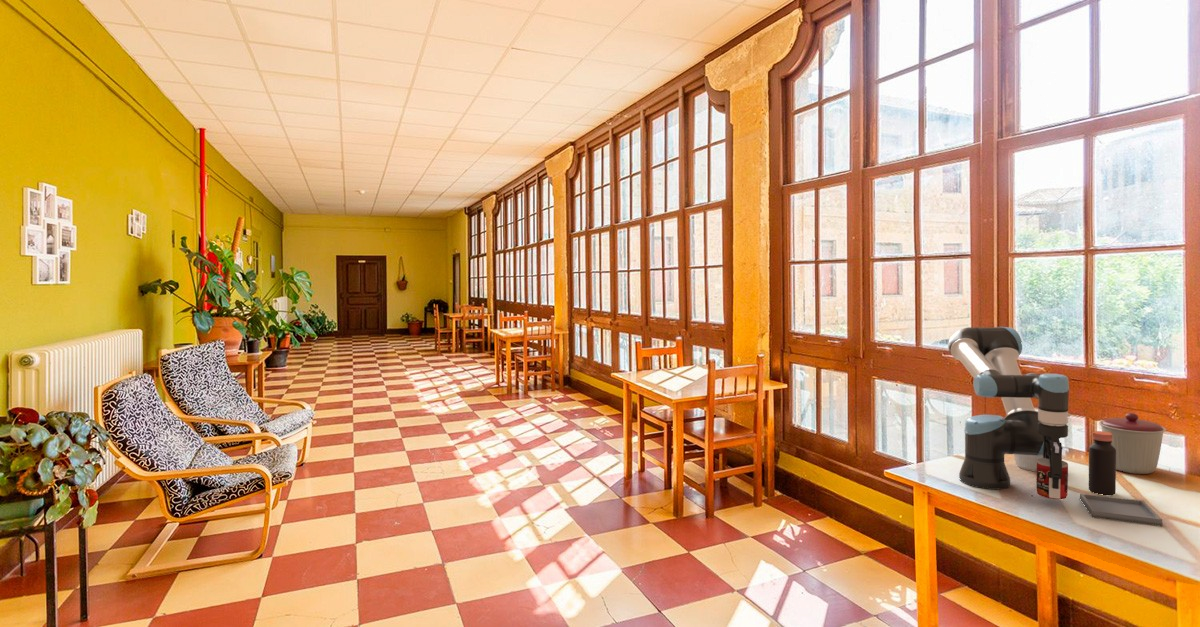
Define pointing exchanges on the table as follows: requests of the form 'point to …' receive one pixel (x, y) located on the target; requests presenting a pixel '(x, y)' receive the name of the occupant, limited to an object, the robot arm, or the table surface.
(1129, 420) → the canister
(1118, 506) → the tray
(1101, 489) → the bottle
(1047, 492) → the canned food
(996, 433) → the robot arm
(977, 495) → the table surface
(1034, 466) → the ramekin
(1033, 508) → the table surface
